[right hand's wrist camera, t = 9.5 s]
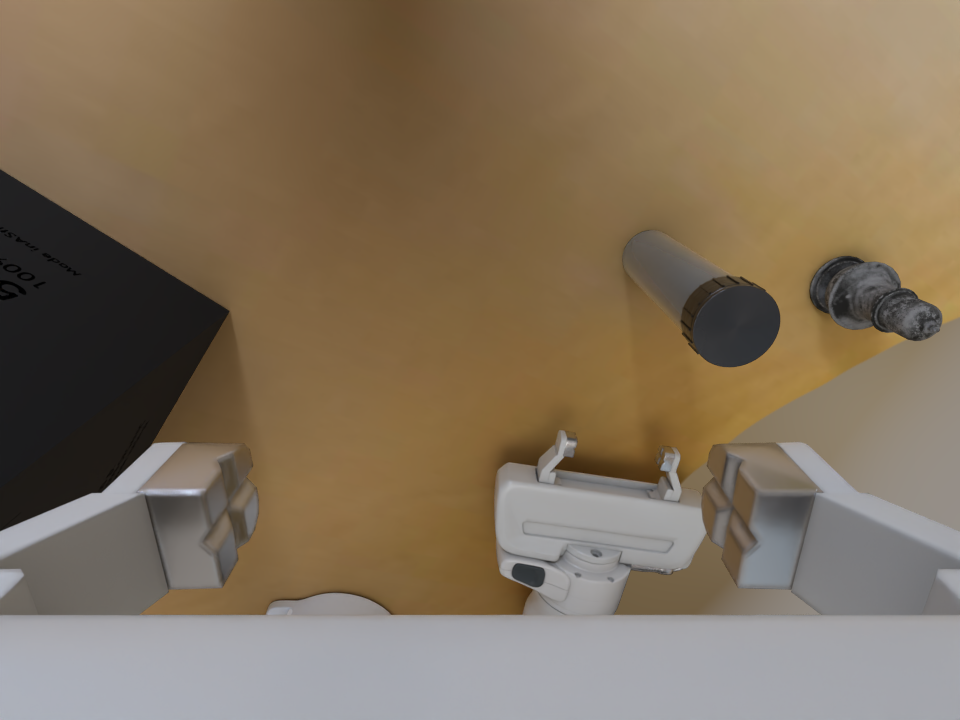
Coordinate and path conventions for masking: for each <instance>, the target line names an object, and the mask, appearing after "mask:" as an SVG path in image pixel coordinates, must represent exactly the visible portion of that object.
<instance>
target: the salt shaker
mask: <svg viewBox="0 0 960 720" xmlns="http://www.w3.org/2000/svg"><path fill="white" fill-rule="evenodd" d="M810 297H811V300H812V302H813V304H814V305H815V306H816V307H817V308H818V309H819V310H821V311H823V312H825V313H830V315H831V317H832V319H833V320H834V321H835V322H836V323H837V324H838V325H840V326H842V327H844V328H847V329H852V330H858V329H865V328H868V327H872V326H874V327H875V328H876V329H878V330H879V331H881V332H886V333H889V332H895V333H896V334H898V335H900V336H902V337H904V338H906V339H908V340H913V341H921V340H925V339H927V338H929V337H931V336H933V335H934V334H935V333H937V332H939V331H940V327H941V324H942V314H941V311H940V310H939V309H938V308H937V307H936V306H934V305H932V304H930V303H927V302H925V301H922V300H920V299H918V297H917V295H916V294H915V293H914V292H913V291H911V290H910V289H906V288H901V282H900V279H899V277H898V274H897V273H896V272H895V271H894V269H893V268H891V267H890V266H888V265H886V264H884V263H879V262H864V261H862V260H860V259H859V258H856V257H852V256H842V257H838V258H835V259H833V260H831V261H829V262H827V263H826V264H825V265H823V266H822V267H821V268H820V269H819V270H818V272H817V273H816V274H815V276H814V278H813V280H812V282H811V287H810Z"/></svg>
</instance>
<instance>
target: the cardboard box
mask: <svg viewBox="0 0 960 720" xmlns="http://www.w3.org/2000/svg"><path fill="white" fill-rule="evenodd" d="M6 259H7V260H6ZM14 265H16V266H17V267H16V266H14ZM18 267H19V268H20V269H18ZM0 282H1V283H0V288H3V290H0V531H2V530H4V529H7V528H9V527H12V526H14V525H16V524H19V523H21V522H24V521H26V520H28V519H31V518H33V517H36V516H38V515H40V514H43V513H45V512H48V511H50V510H52V509H55V508H57V507H60V506H62V505H64V504H67V503H69V502H72V501H74V500H76V499H79V498H81V497H84V496H86V495H88V494H91V493H102V492H103V491H104V490H105V489H106V488H107V487H108V486H109V485H110V484H111V483H112V482H114V481H115V480H116V479H117V478H118V477H119V476H120V475H121V474H122V473H123V472H124V471H125V470H126V469H127V468H128V467H129V466H130V465H132V464H133V463H134V462H135V461H136V460H137V459H138V458H139V457H140V456H141V455H142V454H143V453H144V452H145V451H146V450H147V449H149V448H150V446H151V444H152V442H153V441H154V439H155V437H156V436H157V434H158V432H159V430H160V429H161V427H162V425H163V424H164V422H165V420H166V418H167V417H168V415H169V413H170V412H171V410H172V408H173V407H174V405H175V403H176V401H177V400H178V398H179V396H180V395H181V393H182V391H183V389H184V388H185V386H186V384H187V383H188V381H189V379H190V378H191V376H192V374H193V372H194V371H195V369H196V367H197V366H198V364H199V362H200V360H201V359H202V357H203V355H204V354H205V352H206V350H207V349H208V347H209V345H210V343H211V342H212V340H213V338H214V337H215V335H216V333H217V331H218V330H219V328H220V326H221V325H222V323H223V321H224V320H225V318H226V316H227V314H228V313H229V311H228V310H227V309H225V308H223V307H222V306H220V305H218V304H217V303H215V302H214V301H212V300H210V299H209V298H207V297H206V296H204V295H202V294H201V293H199V292H197V291H196V290H194V289H193V288H191V287H189V286H188V285H186V284H184V283H183V282H181V281H180V280H178V279H176V278H175V277H173V276H172V275H170V274H168V273H167V272H165V271H163V270H162V269H160V268H159V267H157V266H155V265H154V264H152V263H150V262H149V261H147V260H146V259H144V258H142V257H141V256H139V255H138V254H136V253H134V252H133V251H131V250H129V249H128V248H126V247H125V246H123V245H121V244H120V243H118V242H116V241H115V240H113V239H112V238H110V237H108V236H107V235H105V234H104V233H102V232H100V231H99V230H97V229H95V228H94V227H92V226H91V225H89V224H87V223H86V222H84V221H82V220H81V219H79V218H78V217H76V216H74V215H73V214H71V213H70V212H68V211H66V210H65V209H63V208H61V207H60V206H58V205H57V204H55V203H53V202H52V201H50V200H48V199H47V198H45V197H44V196H42V195H40V194H39V193H37V192H36V191H34V190H32V189H31V188H29V187H27V186H26V185H24V184H23V183H21V182H19V181H18V180H16V179H14V178H13V177H11V176H10V175H8V174H6V173H5V172H3V171H2V170H0ZM5 290H6V291H7V292H6V293H5ZM10 292H12V295H11V299H9V298H8V296H9V294H10ZM13 295H14V296H17V297H14V296H13Z"/></svg>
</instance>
